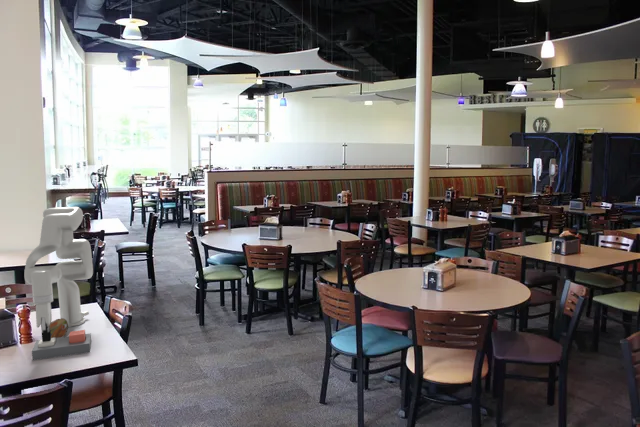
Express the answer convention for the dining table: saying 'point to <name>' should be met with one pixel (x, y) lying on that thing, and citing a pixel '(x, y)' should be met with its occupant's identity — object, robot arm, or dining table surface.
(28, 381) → the dining table surface
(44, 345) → the white button
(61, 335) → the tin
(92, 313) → the dining table surface
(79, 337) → the red button
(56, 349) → the console
